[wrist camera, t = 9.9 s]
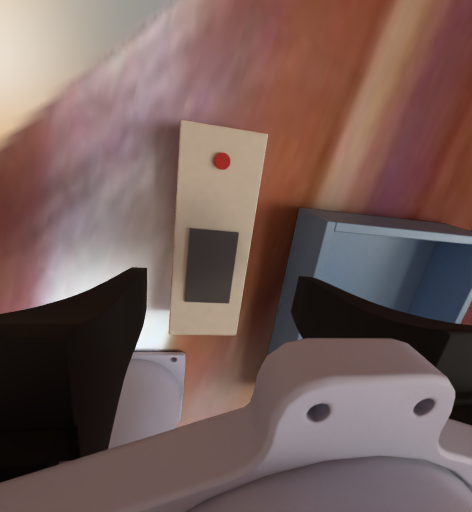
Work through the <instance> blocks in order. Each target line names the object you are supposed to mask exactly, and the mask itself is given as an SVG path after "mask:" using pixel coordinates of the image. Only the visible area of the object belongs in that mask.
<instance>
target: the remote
mask: <svg viewBox="0 0 472 512" xmlns="http://www.w3.org/2000/svg"><path fill="white" fill-rule="evenodd" d="M267 138H268V134H264V133H258V132H252V131H246V130H240V129H234V128H228V127H222V126H216V125H210V124H204V123H198V122H192V121H186V120H181V121H180V136H179V155H178V173H177V191H176V209H175V228H174V246H173V264H172V283H171V301H170V319H169V334H170V335H236V333H237V327H238V320H239V314H240V308H241V302H242V295H243V289H244V283H245V276H246V270H247V264H248V258H249V251H250V245H251V239H252V232H253V226H254V220H255V214H256V207H257V201H258V195H259V189H260V182H261V176H262V170H263V163H264V157H265V151H266V145H267Z"/></svg>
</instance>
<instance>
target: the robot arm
mask: <svg viewBox="0 0 472 512" xmlns="http://www.w3.org/2000/svg"><path fill="white" fill-rule="evenodd" d="M146 309H147V268H137V267H132V268H130V269H128V270H126V271H124V272H122V273H121V274H119V275H117V276H115V277H114V278H112V279H110V280H108V281H106V282H104V283H102V284H100V285H98V286H96V287H94V288H92V289H90V290H88V291H85V292H83V293H80V294H78V295H75V296H72V297H69V298H67V299H63V300H60V301H56V302H53V303H49V304H46V305H42V306H38V307H34V308H30V309H25V310H20V311H15V312H9V313H3V314H0V512H472V326H471V325H464V324H457V323H450V322H445V321H440V320H435V319H429V318H425V317H421V316H416V315H412V314H409V313H405V312H401V311H398V310H394V309H391V308H388V307H385V306H382V305H379V304H376V303H373V302H370V301H368V300H365V299H363V298H360V297H358V296H356V295H353V294H351V293H349V292H346V291H344V290H342V289H340V288H338V287H335V286H333V285H331V284H329V283H327V282H324V281H322V280H319V279H317V278H314V277H307V276H299V277H298V281H297V286H296V290H295V295H294V299H293V303H292V308H291V314H292V317H293V320H294V323H295V325H296V327H297V329H298V331H299V333H300V335H301V337H302V338H303V339H301V340H297V341H292V342H287V343H284V344H283V345H282V346H280V347H279V348H277V349H276V350H275V351H273V352H272V353H271V354H269V355H268V356H266V358H265V360H264V362H263V364H262V366H261V368H260V370H259V372H258V374H257V378H256V383H255V388H254V393H253V396H252V399H251V401H250V403H249V404H247V405H246V406H245V407H243V408H239V409H236V410H233V411H230V412H227V413H223V414H220V415H217V416H214V417H210V418H207V419H204V420H201V421H198V422H194V423H191V424H188V425H185V426H181V427H178V428H177V423H178V422H179V421H180V420H181V412H182V400H183V388H184V376H185V365H186V355H185V353H183V352H134V349H135V347H136V344H137V341H138V338H139V336H140V333H141V330H142V327H143V323H144V319H145V314H146ZM172 357H176V359H172Z"/></svg>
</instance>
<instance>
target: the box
mask: <svg viewBox="0 0 472 512" xmlns="http://www.w3.org/2000/svg"><path fill="white" fill-rule="evenodd" d="M299 276H307V277H314V278H317V279H319V280H322V281H324V282H327V283H329V284H331V285H333V286H335V287H338V288H340V289H342V290H344V291H346V292H349V293H351V294H353V295H356V296H358V297H360V298H363V299H365V300H368V301H370V302H373V303H376V304H379V305H382V306H385V307H388V308H391V309H394V310H398V311H401V312H405V313H409V314H412V315H416V316H421V317H425V318H429V319H435V320H440V321H445V322H450V323H457V324H460V323H461V321H462V319H463V317H464V315H465V313H466V311H467V309H468V307H469V305H470V303H471V301H472V231H470V230H467V229H463V228H459V227H455V226H452V225H448V224H443V223H434V222H425V221H416V220H407V219H398V218H389V217H380V216H371V215H362V214H354V213H345V212H336V211H327V210H318V209H309V208H299V212H298V217H297V222H296V226H295V231H294V236H293V240H292V245H291V250H290V254H289V259H288V264H287V268H286V273H285V277H284V282H283V287H282V291H281V296H280V301H279V305H278V310H277V315H276V319H275V324H274V329H273V333H272V338H271V343H270V347H269V352H268V355H269V354H271V353H272V352H273V351H275V350H276V349H277V348H279V347H280V346H282V345H283V344H284V343H287V342H292V341H297V340H301V339H303V338H302V337H301V335H300V333H299V331H298V329H297V327H296V325H295V323H294V320H293V317H292V314H291V308H292V303H293V299H294V295H295V290H296V286H297V281H298V277H299Z"/></svg>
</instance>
